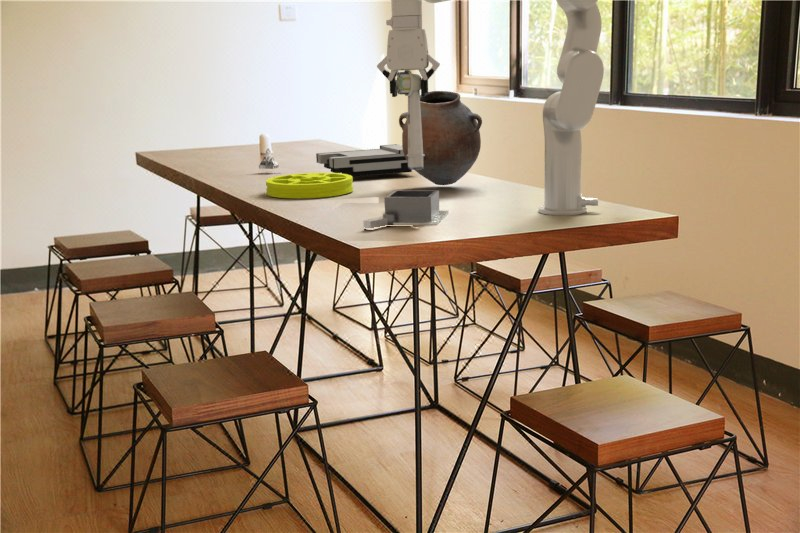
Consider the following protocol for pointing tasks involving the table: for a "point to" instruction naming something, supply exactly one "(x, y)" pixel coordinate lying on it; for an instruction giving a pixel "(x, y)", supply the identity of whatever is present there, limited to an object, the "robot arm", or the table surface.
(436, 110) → the clay pot
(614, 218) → the table surface
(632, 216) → the table surface
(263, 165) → the house of cards
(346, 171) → the game console
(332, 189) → the pulley
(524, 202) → the table surface
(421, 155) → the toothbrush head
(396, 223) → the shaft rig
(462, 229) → the table surface
